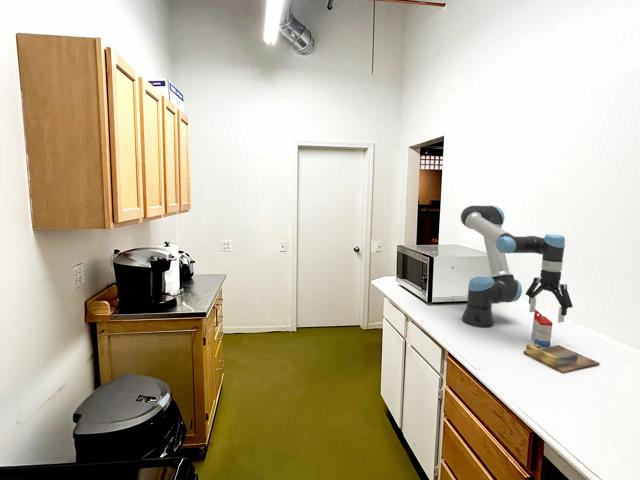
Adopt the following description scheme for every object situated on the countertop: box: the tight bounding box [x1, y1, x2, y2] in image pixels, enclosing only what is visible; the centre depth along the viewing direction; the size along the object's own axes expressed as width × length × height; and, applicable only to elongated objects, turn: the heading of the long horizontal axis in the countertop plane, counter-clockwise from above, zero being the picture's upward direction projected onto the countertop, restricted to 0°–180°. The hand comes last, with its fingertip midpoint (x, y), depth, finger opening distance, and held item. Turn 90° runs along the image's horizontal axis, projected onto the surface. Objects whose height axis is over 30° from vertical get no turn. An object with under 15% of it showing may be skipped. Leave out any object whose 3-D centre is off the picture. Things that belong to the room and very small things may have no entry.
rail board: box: [523, 343, 601, 374], centre depth 146 cm, size 17×21×4 cm
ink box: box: [531, 309, 553, 348], centre depth 160 cm, size 8×5×15 cm, turn 168°
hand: (545, 316), depth 158 cm, fingers open, 13 cm apart
